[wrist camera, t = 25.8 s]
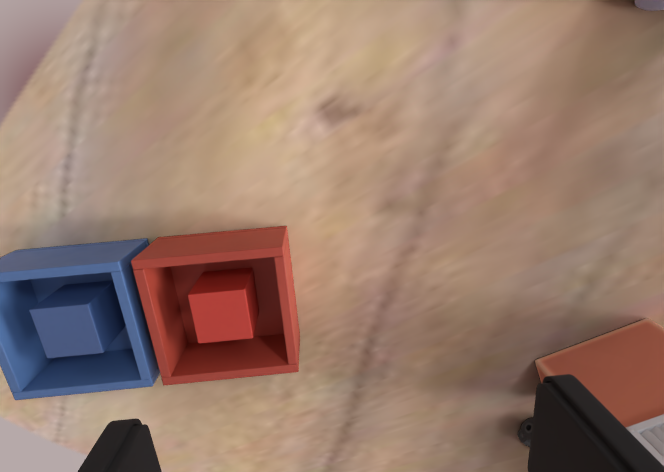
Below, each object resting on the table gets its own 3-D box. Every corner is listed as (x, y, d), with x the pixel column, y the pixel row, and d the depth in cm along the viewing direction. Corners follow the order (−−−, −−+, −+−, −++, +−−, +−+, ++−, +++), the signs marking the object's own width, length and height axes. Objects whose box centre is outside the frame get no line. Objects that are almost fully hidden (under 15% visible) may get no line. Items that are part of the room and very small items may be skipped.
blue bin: (16, 249, 34) (-39, 275, 29) (147, 238, 34) (118, 261, 29) (56, 359, 38) (14, 400, 32) (174, 348, 38) (152, 386, 33)
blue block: (63, 284, 35) (28, 309, 30) (115, 279, 35) (87, 304, 30) (78, 328, 36) (46, 358, 32) (127, 323, 36) (103, 353, 32)
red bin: (157, 237, 34) (130, 260, 29) (286, 225, 35) (282, 246, 29) (183, 347, 38) (163, 385, 33) (300, 335, 38) (298, 372, 33)
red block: (202, 271, 35) (187, 294, 31) (252, 267, 35) (244, 289, 31) (211, 315, 37) (198, 343, 32) (259, 311, 37) (253, 338, 32)
